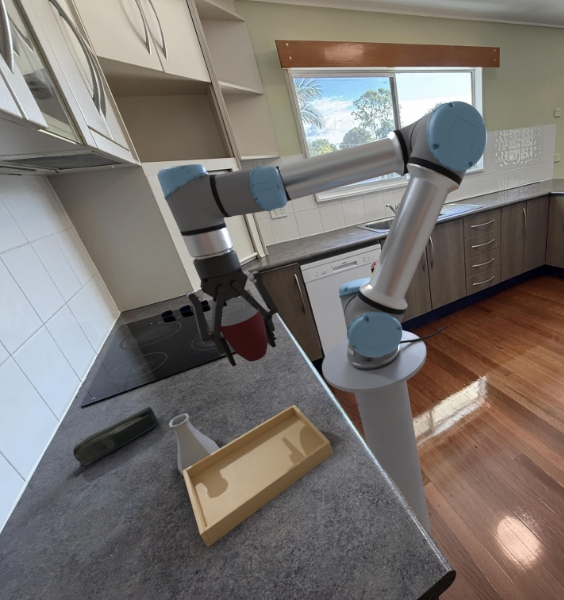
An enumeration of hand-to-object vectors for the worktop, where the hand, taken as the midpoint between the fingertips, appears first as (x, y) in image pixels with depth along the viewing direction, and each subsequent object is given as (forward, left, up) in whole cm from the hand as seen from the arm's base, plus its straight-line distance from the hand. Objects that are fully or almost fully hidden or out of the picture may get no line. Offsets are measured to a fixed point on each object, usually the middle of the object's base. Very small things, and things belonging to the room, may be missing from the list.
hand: (253, 354), depth 68 cm
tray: (+8, +17, -14) cm, 23 cm away
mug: (0, 0, 0) cm, 0 cm away
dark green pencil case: (+28, -14, -14) cm, 34 cm away
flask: (+16, +5, -14) cm, 22 cm away
